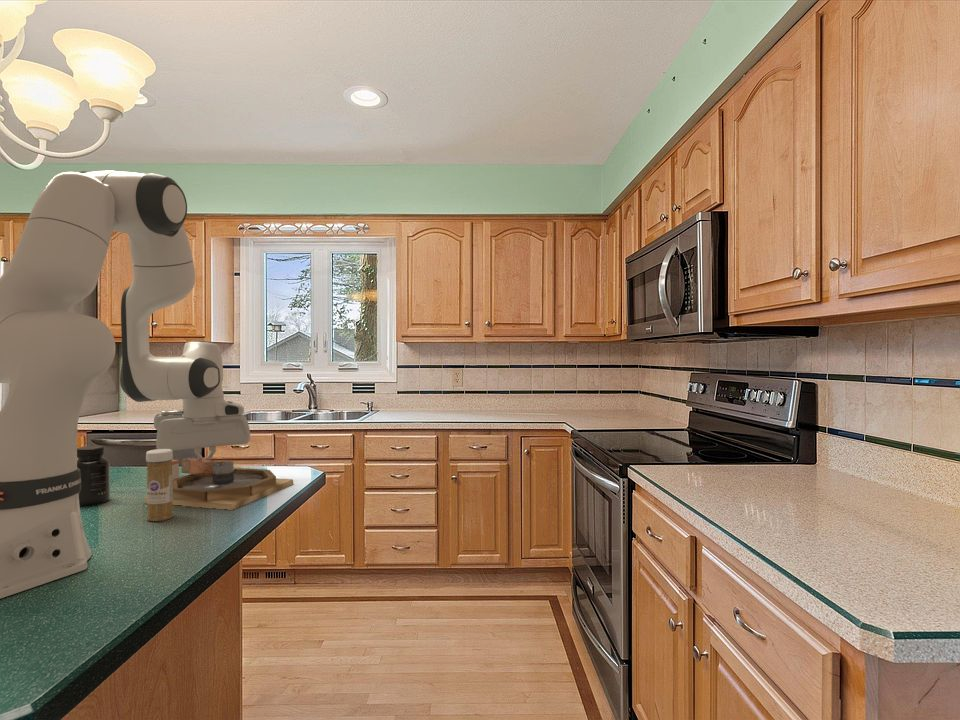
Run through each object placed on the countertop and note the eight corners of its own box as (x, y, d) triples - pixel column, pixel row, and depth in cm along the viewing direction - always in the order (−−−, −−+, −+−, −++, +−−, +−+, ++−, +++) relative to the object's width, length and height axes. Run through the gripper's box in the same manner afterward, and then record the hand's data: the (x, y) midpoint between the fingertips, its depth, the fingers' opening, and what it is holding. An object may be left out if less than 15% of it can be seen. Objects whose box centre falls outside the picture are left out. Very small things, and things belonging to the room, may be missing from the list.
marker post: (171, 490, 129) (170, 462, 128) (162, 490, 129) (162, 461, 129) (179, 488, 131) (178, 460, 131) (170, 487, 132) (170, 459, 131)
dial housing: (232, 510, 113) (231, 494, 113) (144, 503, 119) (144, 487, 118) (293, 484, 135) (293, 470, 134) (216, 479, 140) (216, 466, 140)
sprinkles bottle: (143, 523, 105) (142, 453, 105) (150, 516, 109) (149, 448, 109) (170, 520, 106) (169, 451, 106) (176, 514, 111) (175, 447, 110)
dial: (279, 482, 131) (278, 458, 131) (218, 500, 115) (217, 474, 115) (216, 473, 139) (216, 452, 139) (152, 489, 124) (151, 465, 124)
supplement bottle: (63, 505, 117) (62, 449, 117) (95, 496, 124) (94, 443, 124) (86, 508, 115) (85, 451, 115) (117, 499, 122) (116, 445, 121)
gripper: (153, 413, 124) (155, 473, 125) (250, 407, 134) (251, 463, 135) (153, 410, 130) (155, 468, 130) (247, 404, 140) (248, 458, 140)
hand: (205, 465), depth 133 cm, fingers closed
